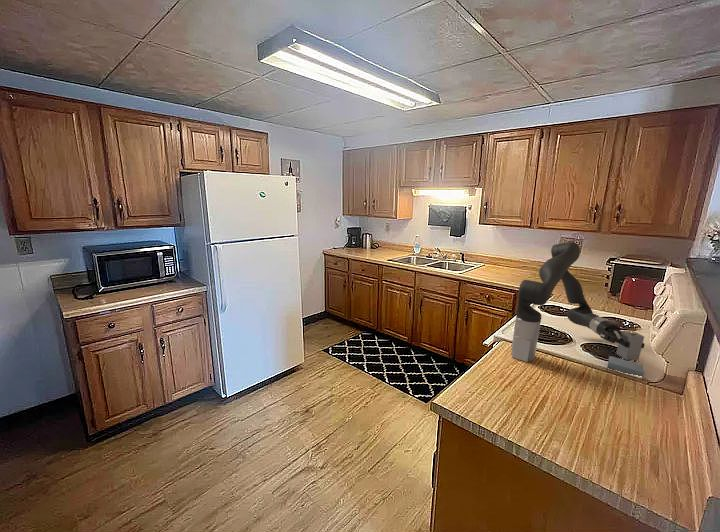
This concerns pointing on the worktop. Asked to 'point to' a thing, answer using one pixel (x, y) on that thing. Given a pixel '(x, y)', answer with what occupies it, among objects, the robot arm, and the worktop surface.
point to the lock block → (634, 348)
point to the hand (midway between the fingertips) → (635, 345)
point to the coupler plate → (625, 366)
